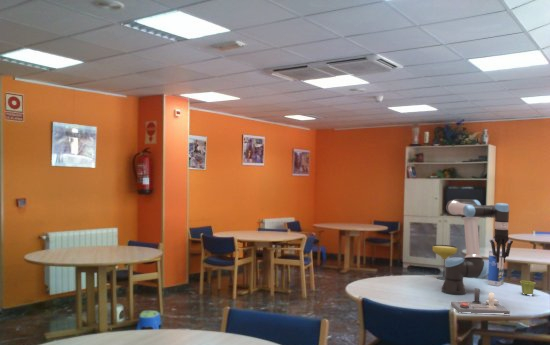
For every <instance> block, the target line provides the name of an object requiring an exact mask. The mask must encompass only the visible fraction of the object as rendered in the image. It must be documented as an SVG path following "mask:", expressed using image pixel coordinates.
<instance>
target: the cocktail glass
mask: <svg viewBox="0 0 550 345" xmlns="http://www.w3.org/2000/svg"><path fill="white" fill-rule="evenodd" d="M432 252H433V253H435V254H437V256H440V257H441V258H442V260H443V271H442V272H443V275H442V276H437V277H436V279H437V280H441V281H445V262H446V259H448V258H450V257H451V256H453V255H455V254H457V252H458V247H457V246H454V245H448V244H447V245H446V244H433V245H432Z"/></svg>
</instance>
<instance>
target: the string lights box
mask: <svg viewBox="0 0 550 345" xmlns="http://www.w3.org/2000/svg"><path fill="white" fill-rule="evenodd" d="M501 257H502V248H500V258H501ZM497 266H498V263H497V262H496V256H494V255H493V252H492V248H491V249H489V250H488V269H487V272H488V273H487V274H488V278H487V285H490V286H494V287H500V286H501V285H503V284H504V271H505V270H504V265H503V269H502V268H501V269H500V268H497Z"/></svg>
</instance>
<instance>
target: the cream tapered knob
mask: <svg viewBox="0 0 550 345" xmlns="http://www.w3.org/2000/svg"><path fill="white" fill-rule="evenodd" d="M494 299H495V293H494V292H492V291H491V292H488V300H489V305H487V308H490V309H496V307H495V306H494V304H495V303H494Z"/></svg>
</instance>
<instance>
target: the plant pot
mask: <svg viewBox="0 0 550 345" xmlns="http://www.w3.org/2000/svg"><path fill="white" fill-rule="evenodd" d="M519 282H520V285H521V293H524V294H533V295H534V290H535V286H536V282H534V281H531V280H530V281H528V280H520V281H519Z"/></svg>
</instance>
